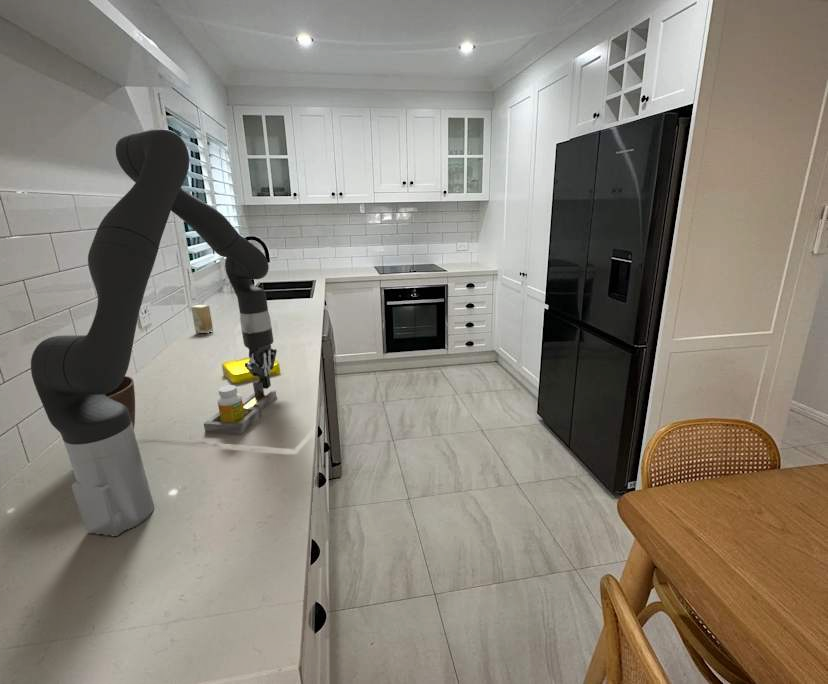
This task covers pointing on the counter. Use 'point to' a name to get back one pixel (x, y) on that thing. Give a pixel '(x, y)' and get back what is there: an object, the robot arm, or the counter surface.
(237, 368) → the element tile
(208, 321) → the skincare box
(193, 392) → the counter surface
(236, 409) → the supplement bottle
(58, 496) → the counter surface
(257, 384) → the locking bolt
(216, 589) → the counter surface
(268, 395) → the docking base
